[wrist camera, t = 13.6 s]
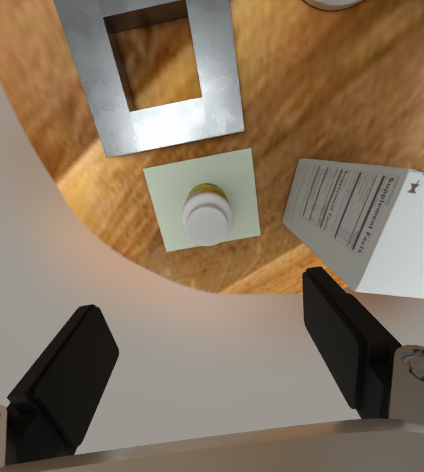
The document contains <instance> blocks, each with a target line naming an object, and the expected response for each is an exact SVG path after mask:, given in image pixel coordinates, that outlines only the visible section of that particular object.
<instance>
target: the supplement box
mask: <svg viewBox="0 0 424 472" xmlns="http://www.w3.org/2000/svg"><path fill="white" fill-rule="evenodd" d="M282 223H283V224H284V225H285V226H286V227H287V228H288V229H289V230H290V231H291V232H292V233H294V234H295V235H296V236H297V237H298V238H299V239H300V240H301V241H302V242H303V243H304V244H305V245H306V246H307V247H308V248H309V249H310V250H312V251H313V252H314V253H315V254H316V255H317V256H318V257H319V258H320V259H321V260H322V261H323V262H324V263H325V264H326V265H327V266H328V267H329V268H330V269H331V270H333V271H334V272H335V273H336V274H337V275H338V276H339V277H340V278H341V279H342V280H343V281H344V282H345V283H346V284H347V285H348V286H349V287H350V288H351V289H352V290H353V291H355V292H364V293H375V294H385V295H394V296H404V297H413V298H424V172H423V171H417V170H413V169H407V168H398V167H390V166H382V165H370V164H357V163H343V162H335V161H327V160H318V159H308V158H299V161H298V164H297V168H296V172H295V175H294V179H293V183H292V186H291V190H290V194H289V197H288V201H287V204H286V208H285V212H284V215H283V219H282Z"/></svg>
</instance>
